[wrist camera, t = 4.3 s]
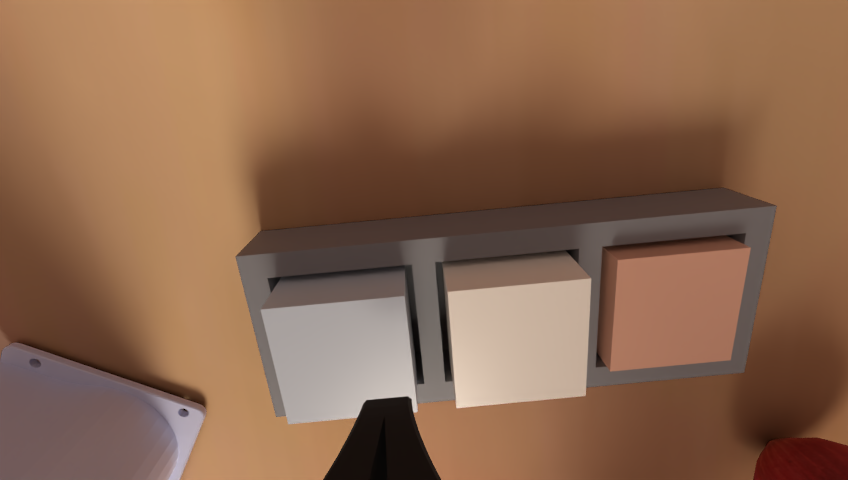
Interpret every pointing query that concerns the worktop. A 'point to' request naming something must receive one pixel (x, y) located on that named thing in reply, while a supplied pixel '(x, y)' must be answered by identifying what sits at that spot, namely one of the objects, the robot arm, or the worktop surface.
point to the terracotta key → (670, 302)
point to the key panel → (501, 236)
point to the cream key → (517, 327)
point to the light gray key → (341, 341)
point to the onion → (802, 460)
